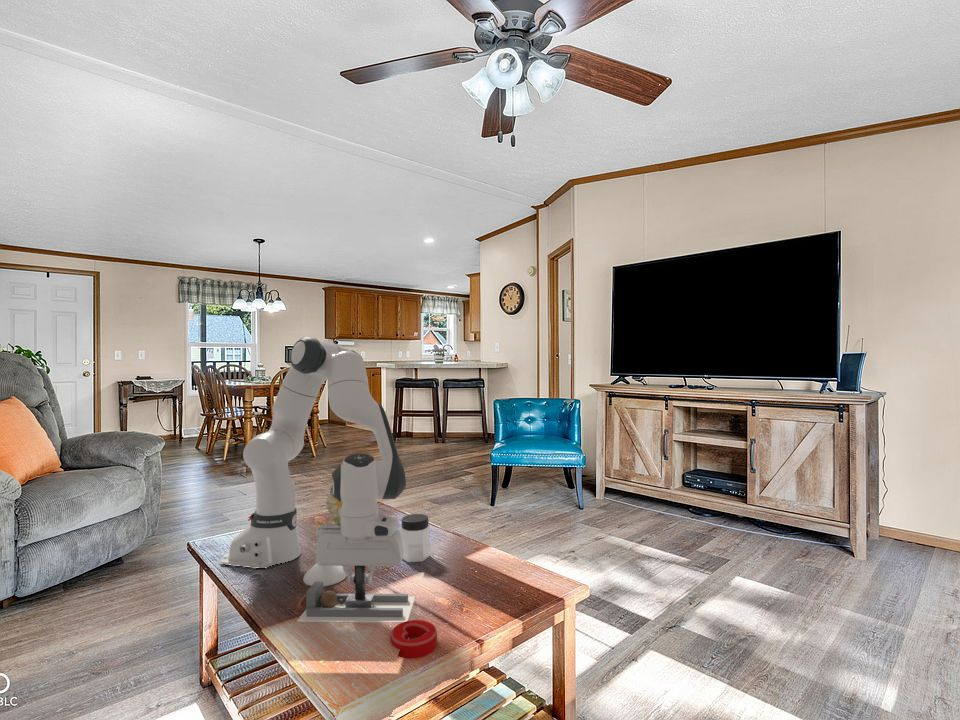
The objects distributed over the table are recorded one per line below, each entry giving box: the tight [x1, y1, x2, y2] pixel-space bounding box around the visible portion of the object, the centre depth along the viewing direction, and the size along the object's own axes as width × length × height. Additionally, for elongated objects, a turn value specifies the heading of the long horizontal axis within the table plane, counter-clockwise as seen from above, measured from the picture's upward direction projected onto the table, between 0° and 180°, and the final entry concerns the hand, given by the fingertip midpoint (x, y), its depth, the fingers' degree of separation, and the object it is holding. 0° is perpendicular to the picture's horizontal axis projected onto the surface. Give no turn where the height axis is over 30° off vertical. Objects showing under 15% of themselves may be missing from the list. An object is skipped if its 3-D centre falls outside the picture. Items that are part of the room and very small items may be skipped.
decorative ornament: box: [390, 619, 438, 660], centre depth 103 cm, size 10×10×3 cm
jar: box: [399, 513, 431, 563], centre depth 149 cm, size 9×8×12 cm
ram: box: [346, 566, 375, 608], centre depth 115 cm, size 6×3×10 cm, turn 89°
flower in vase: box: [302, 493, 347, 587], centre depth 133 cm, size 13×11×25 cm
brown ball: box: [320, 590, 338, 608], centre depth 115 cm, size 4×4×4 cm
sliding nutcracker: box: [296, 582, 417, 623], centre depth 115 cm, size 25×12×6 cm, turn 89°
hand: (360, 582), depth 115 cm, fingers closed on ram, 2 cm apart
